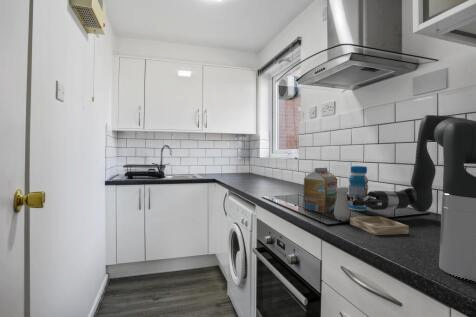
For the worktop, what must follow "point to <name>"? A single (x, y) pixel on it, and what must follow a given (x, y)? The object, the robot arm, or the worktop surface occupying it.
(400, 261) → the worktop surface
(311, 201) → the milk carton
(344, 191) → the salt shaker
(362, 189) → the beverage bottle
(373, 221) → the tray
